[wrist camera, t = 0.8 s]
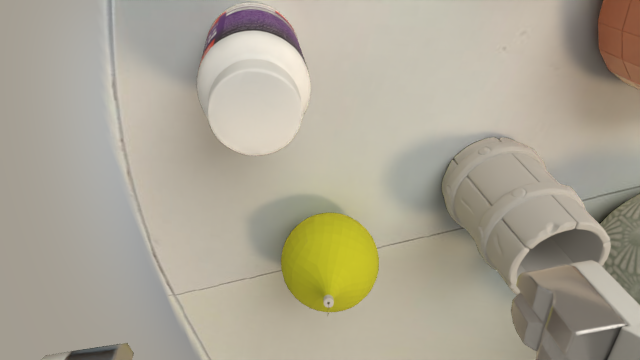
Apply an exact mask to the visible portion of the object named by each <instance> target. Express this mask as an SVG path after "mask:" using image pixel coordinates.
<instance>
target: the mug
mask: <svg viewBox="0 0 640 360" xmlns="http://www.w3.org/2000/svg"><path fill="white" fill-rule="evenodd" d="M454 160H455V161H454ZM454 160H452V161H451V162H450V164H449V167H448V169H447V171H446V173H445V176H444V177H443V180H442V193H443V196H444V200H445V203H446V207H447V210H448V212H449V214H450V216H451V217H452V218H453V220H454V221H455V222H457V223H458V224H459V225H460V226H461V227H462V228H465V229H467V231H468V232H469V234H470V235H471V236H472V238H473V239H474V240H475V242H476V245H477V248H478V251H479V253H480V254H481V256H482V257H483V259H484V260H485V262H486V263H487V264H488V265H489V266H490V267H492V268H493V269H495V270H497V271H498V273H499V274H500V275H501V277H502V278H503V279H504V281H505V282H506V284H507V285H508V286H509V288H510V289H511V290H512V291H513V292H514V293H515V294H516V295H518V294H519V293H520V290H519V289H518V287H517V286H516V283H517V279H518V276H519V275H520V274H521V273H522V272H527V271H532V270H537V269H543V268H548V267H553V266H558V265H564V264H566V265H567V264H572V263H577V262H583V261H589V260H593V261H595V262H597V263H599V264H600V265H601V266H603V264H604V263H605V261H606V260H607V258H608V255H609V252H610V248H611V243H610V238H609V236H608V234H607V233H606V231H605V230H604V229H603V228H602V226H601V225H600V224H599V223H598V222H597V221H596V220H595V219H594V218H593V217H592V216H591V215H590V214H589V213H588V212H587V211H586V210H585V206H584V203H583V202H582V200H581V199H580V198H579V196H578V195H577V194H576V192H575V191H574V190H573V188H571V187H570V186H567V185H563V184H559V183H558V182H557V181H556V180H555V179H554V178H553V176H552V175H551V174H550V173H549V172H548V171H547V170H546V166H545V164H544V162H543V160H542V159H541V157H540V156H539V155H538V154H537V152H536V151H535V150H534V149H533V148H530V147H528V146H526V145H524V144H522V143H518V142H516V141H514V140H512V139H509V138H502V137H501V138H500V139H499V140H498V139H497V138H496V137H491V138H486V139H483V140H480V141H478V142H475V143H473V144H471V145H469V146H468V147H466V148H465V149H463V150H462V151H461V152H460V153H459V154H457V155H456V156H455V157H454Z"/></svg>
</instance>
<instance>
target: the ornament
mask: <svg viewBox="0 0 640 360" xmlns="http://www.w3.org/2000/svg"><path fill="white" fill-rule="evenodd" d="M281 269H282V273H283V277H284V280H285V283H286V285H287V287H288V289H289V290H290V292H291V293H292V294H293V295H294V296H295V298H296V299H298V300H299V301H300V302H301V303H303V304H304V305H306V306H308V307H309V308H312V309H315V310H317V311H323V312H338V311H343V310H346V309H349V308H351V307H353V306H355V305H356V304H358V303H359V302H360V301H361V300H362V299H363V298H364V297H366V296H367V294H368V293H369V292H370V290H371V289H372V287H373V285H374V283H375V280H376V278H377V274H378V270H379V257H378V252H377V248H376V245H375V243H374V241H373V238H372V236H371V235H370V234H369V232H368V231H367V230H366V229H365V228H364V227H363V226H362V225H361V224H360V223H359V222H357V221H356V220H354V219H352V218H351V217H348V216H346V215H343V214H338V213H322V214H317V215H314V216H311V217H309V218H307V219H305V220H304V221H302V222H301V223H300V224H298V225H297V226H296V227H295V228H294V229H293V230H292V232H291V233H290V235H289V236H288V238H287V240H286V242H285V244H284V247H283V250H282V256H281ZM328 314H329V313H328ZM327 316H328V315H327Z"/></svg>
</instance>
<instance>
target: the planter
mask: <svg viewBox="0 0 640 360" xmlns="http://www.w3.org/2000/svg"><path fill="white" fill-rule="evenodd" d="M600 225H601V226H602V228H603V229H604V230H605V231H606V233H607V234H608V236H609V238H610V243H611V248H610V252H609V255H608V258H607V260H606V261H605V263H604V264H603V266H602V267H603V268H604V269H605V270H606V271H607V272H608V273H609V274H610V275H611V276H612V277H613V278H614V279H615V280H616V281H617V282H618V283H619V284H620V285H621V286H622V287H623V289H624V290H625V291H626V292H627V293H628V294H629V295H630V296H631V297H632V298H633V299H634V300H635V301H636V302H637V303H638V304H639V305H640V194H639V195H637V196H635V197H633V198H631V199H630V200H628V201H626V202H625V203H623V204H622V205H620V206H619V207H618V208H616V209H615V210H614V211H613V212H611V213H610V214H609V215H608V216H607V217H606V218H605V219H604V220H603V221H602V222H601V223H600Z"/></svg>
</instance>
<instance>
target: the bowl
mask: <svg viewBox="0 0 640 360" xmlns="http://www.w3.org/2000/svg"><path fill="white" fill-rule="evenodd" d="M598 37H599V51H600V53H601V55H602V57H603V59H604V61H605V64H606V66H607V68H608V70H609V71H610V72H612V73H613V74H614V75H615V76H617V77H618V78H619V79H621V80H622V81H623V82H625V83H627V84H629V85H631V86H633V87H635V88H637V89H639V90H640V0H603V3H602V7H601V11H600V15H599V18H598Z"/></svg>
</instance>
